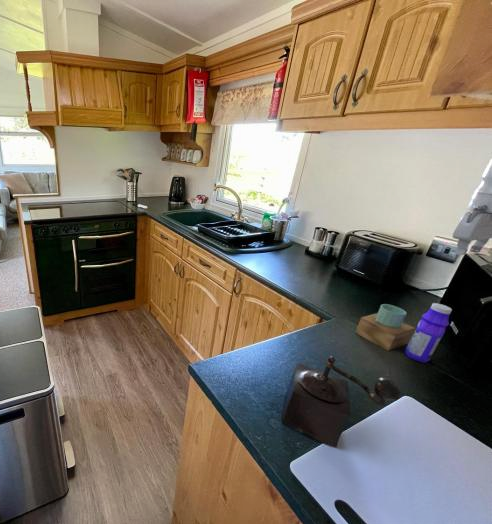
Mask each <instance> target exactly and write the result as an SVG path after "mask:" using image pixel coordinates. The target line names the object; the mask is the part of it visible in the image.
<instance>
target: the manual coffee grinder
mask: <svg viewBox="0 0 492 524" xmlns="http://www.w3.org/2000/svg"><path fill="white" fill-rule="evenodd" d="M335 362H336V358H335V357H334V356H332V355H331V356H328V357H327V360H326V361H325V368H324V371H321V370H318V369H315V368H312V367H310V366H307V365H304V364H302V363H299V362H297V363H296V365H295V368H294V370H293V373H292V376H291V379H290V382H289V384H288V387H287V390H286V392H285V395H284V401H283V407H282V413H281V418H280V420H281V423H282V424H283V425H285V426H287V427H289V428H290V429H292V430H294V431H296V432H299V433H300V434H302V435H304V436H306V437H308V438H309V439H310V438H311V439H313V440H315V441H318V442H320V443H323V444H325V445H328V446H330V447H334V448H338V443H339V441H340V438H341V436H342V433H343V432H344V430H345V427H346V425H347V424H348V421H349V419H350V417H351V413H352V409H351V407H352V406H351V394H350V388H349V387H350V386H349V382H348V381H347V380H344V379H341V378H339V377H336V376H333V375H332V374H330V372H331V370H333V371H334V372H336V373H337V374H339V375H340V376H342V377H345V378H346V379H348V380H350V381H352V382H353V383H355V384H356V385H358V386H360V387H361V388H362V390H364V391H365V393H367V395H368V397H369V398H370V400H371V401H372V402H374V403H375V404H376V405H378V406H381V407H385V406H386V404H387V402H389V401H398V400H399V399H401V397H402V390H401V388H400V386H398V385H397V383H395V382H394V381H393V380H391V379H390V378H387V377H384V376H382V377H378V378H376V379H375V380H374V389H373V390H372V389H371V388H370V387H369V385H367V384H366V383H365V382H364V381H362V380H361V379H359V378H357V377H356V376H354V375H352V374H350V373H348V372H347V371H345V370H343V369H341V368H340V367H338V366H336V365H335Z"/></svg>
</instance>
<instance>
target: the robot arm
mask: <svg viewBox="0 0 492 524" xmlns="http://www.w3.org/2000/svg"><path fill="white" fill-rule="evenodd" d="M473 191H474V192H473V193H472V196H471V197H470V199H469V201H468V204H467V205H466V207H465V209H466V210H469V211H466V212H465V213H464V214H463V215H462V217H461V218H460V219H459V222H458V223H457V225H456V227H455V229H454V230H453V232H452V238H453V239H456V240H457V244H456V249H455V251H454V254H455V255H459V256H465V255H466V254H467V253H468V250H469V251H470V252H471V253H476V254H477V253H480V252H481V251H482V249H483V248H484V247H485V246H486V244H487V243H489V240H490V239H492V158H491V159H490V160H489V162H488V163H487V165H486V167H485V168H484V171H483V173H482V175H481V179H480V183H479V185H478V187H477V188H475V189H474V190H473ZM473 241H475V242H474V243H473V245H471V247H470V249H468V248H469V245H470V244H472V242H473Z"/></svg>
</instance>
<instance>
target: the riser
mask: <svg viewBox="0 0 492 524" xmlns="http://www.w3.org/2000/svg"><path fill="white" fill-rule="evenodd" d="M377 313H378V312H375V313H372V314H369V315H364V316H362V317H360V320H359V322H358V325H357V327H356V329H355V333H354V334H357V335H359V336H361V337H362V338H363V339H366V340H368V341H369V342H371V343H373V344H374V345H377V346H379V347H381V348H382V349H384V350H385V351H387V352H388V351H393V350H394V349H397V348H400V347H402V346H405V345H408V344H409V342H410V340H411V338H412V336H413V334H414V332H415V330H416V329H415V328H416V327H414V326H412V325H409V324H407V323H405V322H403V323H402V325H401V326H400V327H398V328H392V327H388V326H385V325H383V324H381V323H379V322H378V321H377V319H376V315H377Z"/></svg>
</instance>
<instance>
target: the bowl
mask: <svg viewBox="0 0 492 524" xmlns="http://www.w3.org/2000/svg"><path fill="white" fill-rule="evenodd" d="M376 313H377V315H376V319H377V321H378V322H379V323H381V324H383V325H385V326H388V327H392V328H398V327H400V326H401V325H402V323H404V320H405V318H406V317H407V314H408V313H407V311H406V310H404V309H403V308H401V307H399V306H395V305H393V304H388V303H383V304H380V306H379V309H378V311H377V312H376Z"/></svg>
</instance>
